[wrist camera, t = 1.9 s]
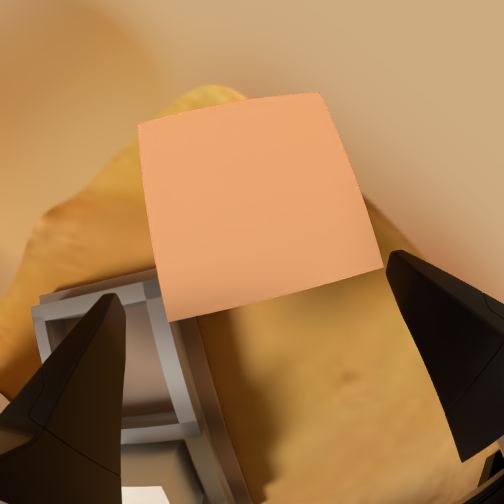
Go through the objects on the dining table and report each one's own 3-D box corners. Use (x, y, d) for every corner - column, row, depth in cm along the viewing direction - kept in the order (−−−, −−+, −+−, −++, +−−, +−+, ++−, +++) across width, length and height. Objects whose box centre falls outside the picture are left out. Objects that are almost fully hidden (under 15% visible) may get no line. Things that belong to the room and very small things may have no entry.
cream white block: (203, 495, 15) (195, 548, 9) (138, 498, 15) (114, 545, 9) (181, 438, 16) (161, 485, 10) (113, 444, 16) (76, 483, 10)
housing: (254, 507, 16) (258, 535, 13) (123, 515, 15) (110, 540, 12) (184, 264, 19) (173, 255, 16) (47, 297, 18) (18, 293, 15)
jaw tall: (288, 293, 19) (384, 267, 7) (212, 312, 19) (168, 322, 6) (269, 220, 20) (319, 92, 7) (195, 237, 20) (137, 124, 7)
